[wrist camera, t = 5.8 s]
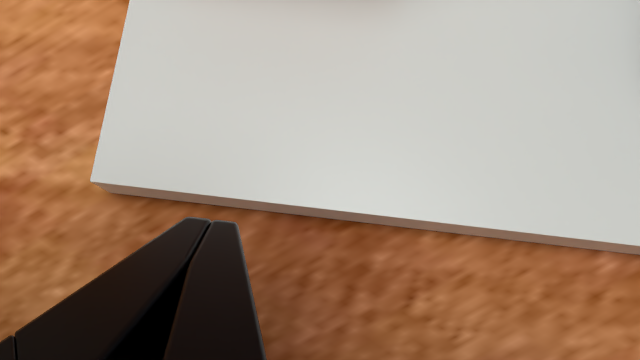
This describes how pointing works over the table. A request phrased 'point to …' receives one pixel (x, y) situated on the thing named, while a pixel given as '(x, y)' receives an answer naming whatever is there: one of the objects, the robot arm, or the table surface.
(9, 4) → the table surface
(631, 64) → the grey base board
